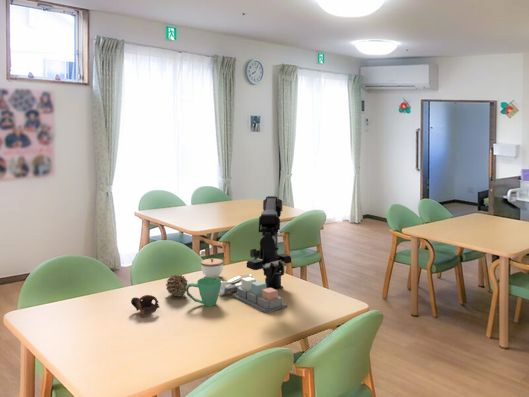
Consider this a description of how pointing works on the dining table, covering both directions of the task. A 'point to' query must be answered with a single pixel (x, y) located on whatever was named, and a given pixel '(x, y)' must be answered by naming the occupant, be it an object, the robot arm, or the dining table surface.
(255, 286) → the key teal
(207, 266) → the lidded jar
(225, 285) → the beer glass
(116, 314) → the dining table surface
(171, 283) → the pine cone
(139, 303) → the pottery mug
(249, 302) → the keypad base
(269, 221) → the robot arm
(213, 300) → the mug
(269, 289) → the salmon pink block
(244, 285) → the key ivory
